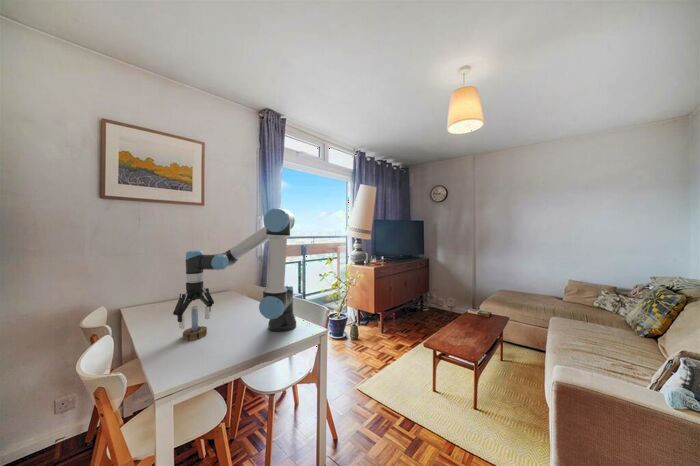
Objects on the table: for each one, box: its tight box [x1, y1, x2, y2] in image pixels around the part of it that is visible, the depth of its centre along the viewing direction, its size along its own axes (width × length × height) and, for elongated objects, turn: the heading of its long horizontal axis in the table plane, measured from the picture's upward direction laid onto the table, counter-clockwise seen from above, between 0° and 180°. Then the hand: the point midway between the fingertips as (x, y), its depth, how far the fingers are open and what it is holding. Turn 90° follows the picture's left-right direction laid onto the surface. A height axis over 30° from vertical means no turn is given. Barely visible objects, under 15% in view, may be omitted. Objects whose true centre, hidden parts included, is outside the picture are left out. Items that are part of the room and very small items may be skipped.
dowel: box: [191, 305, 199, 332], centre depth 125 cm, size 3×3×15 cm
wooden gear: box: [182, 325, 208, 341], centre depth 125 cm, size 10×10×3 cm
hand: (195, 323), depth 125 cm, fingers open, 13 cm apart
